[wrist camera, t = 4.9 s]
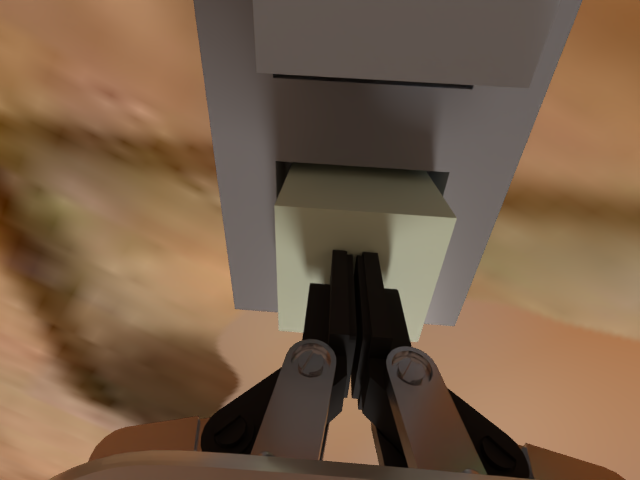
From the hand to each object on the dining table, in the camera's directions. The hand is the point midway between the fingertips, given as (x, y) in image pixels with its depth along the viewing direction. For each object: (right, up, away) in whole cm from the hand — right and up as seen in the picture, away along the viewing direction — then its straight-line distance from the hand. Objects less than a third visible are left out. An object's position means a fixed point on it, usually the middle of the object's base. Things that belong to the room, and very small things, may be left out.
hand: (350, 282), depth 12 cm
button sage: (0, +3, +4) cm, 5 cm away
